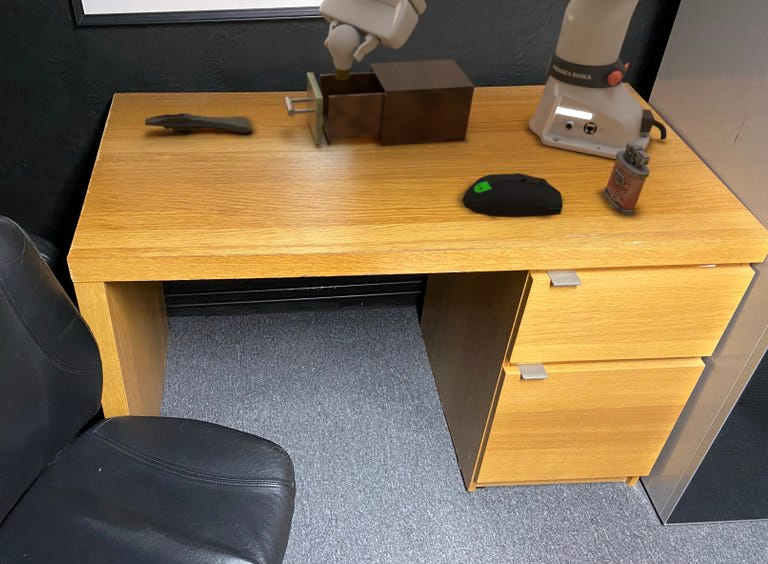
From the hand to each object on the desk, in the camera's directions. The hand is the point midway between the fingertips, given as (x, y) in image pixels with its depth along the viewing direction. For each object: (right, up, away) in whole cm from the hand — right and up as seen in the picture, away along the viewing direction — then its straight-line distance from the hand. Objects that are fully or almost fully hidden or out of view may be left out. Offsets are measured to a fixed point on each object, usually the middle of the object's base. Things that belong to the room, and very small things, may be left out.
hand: (341, 53), depth 126 cm
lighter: (+46, -30, -9) cm, 56 cm away
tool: (-27, -10, +13) cm, 32 cm away
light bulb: (0, -4, +4) cm, 6 cm away
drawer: (0, -10, +10) cm, 14 cm away
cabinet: (+16, -10, +12) cm, 22 cm away
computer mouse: (+28, -29, -8) cm, 41 cm away
